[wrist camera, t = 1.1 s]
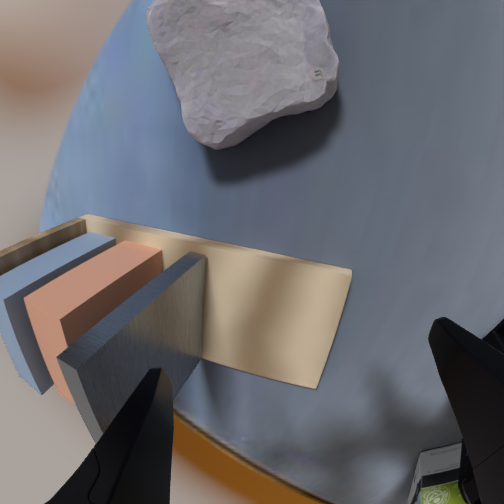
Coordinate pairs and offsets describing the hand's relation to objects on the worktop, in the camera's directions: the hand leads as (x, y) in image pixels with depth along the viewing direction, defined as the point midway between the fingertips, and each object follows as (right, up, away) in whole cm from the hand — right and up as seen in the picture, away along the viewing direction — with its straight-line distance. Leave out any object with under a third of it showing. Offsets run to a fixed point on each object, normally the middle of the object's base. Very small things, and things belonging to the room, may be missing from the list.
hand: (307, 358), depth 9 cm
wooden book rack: (-6, 0, +14) cm, 16 cm away
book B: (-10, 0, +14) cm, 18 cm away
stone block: (-1, +16, +7) cm, 18 cm away
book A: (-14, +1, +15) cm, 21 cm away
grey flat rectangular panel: (-6, -1, +13) cm, 14 cm away
